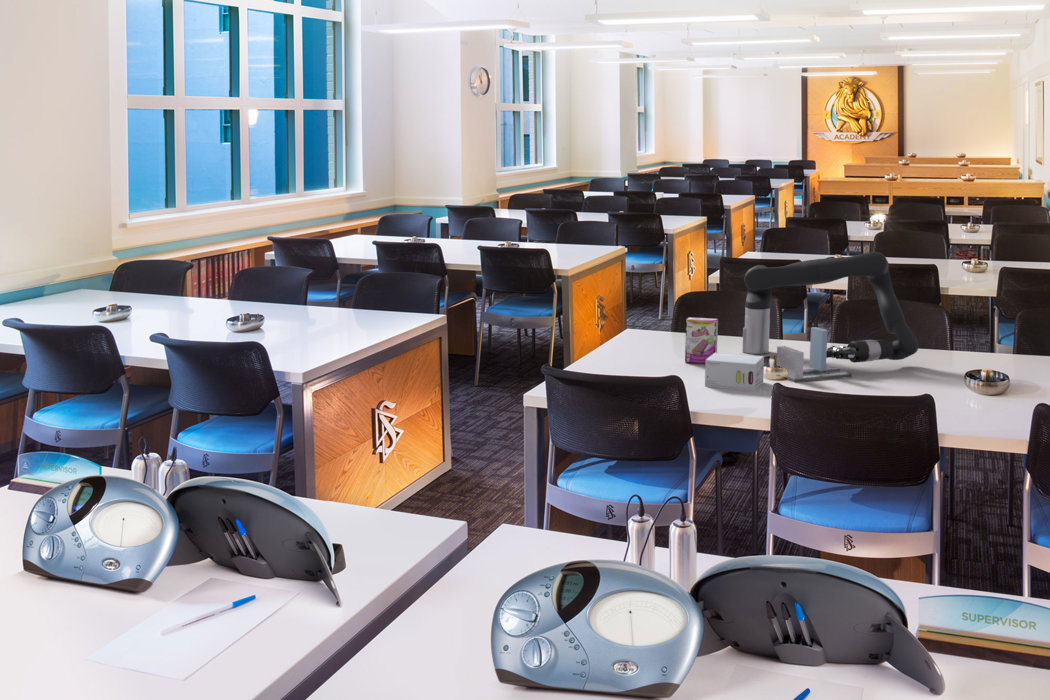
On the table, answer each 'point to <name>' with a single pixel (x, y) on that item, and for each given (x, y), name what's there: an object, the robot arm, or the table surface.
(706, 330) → the candy bar box
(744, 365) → the supplement box
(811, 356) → the light blue flat block
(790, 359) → the grey bookend stand
